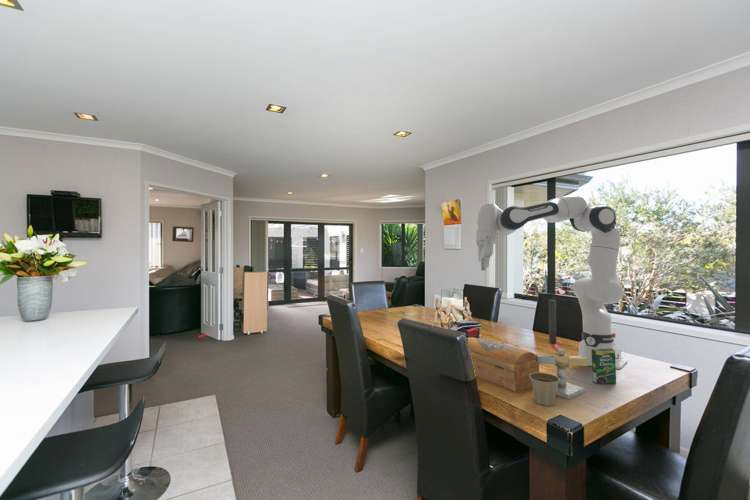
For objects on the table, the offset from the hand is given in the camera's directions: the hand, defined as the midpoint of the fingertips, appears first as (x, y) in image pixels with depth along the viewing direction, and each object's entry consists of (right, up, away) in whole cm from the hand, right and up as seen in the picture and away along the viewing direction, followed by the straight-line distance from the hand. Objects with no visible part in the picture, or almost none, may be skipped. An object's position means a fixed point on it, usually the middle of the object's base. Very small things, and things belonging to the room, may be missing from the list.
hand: (484, 269), depth 157 cm
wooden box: (+1, -44, -12) cm, 46 cm away
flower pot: (+9, -44, -37) cm, 58 cm away
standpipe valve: (+20, -44, -27) cm, 55 cm away
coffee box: (+40, -44, -20) cm, 63 cm away
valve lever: (+21, -30, -22) cm, 43 cm away
